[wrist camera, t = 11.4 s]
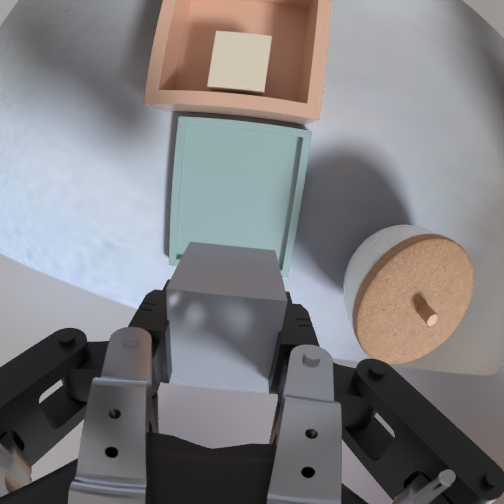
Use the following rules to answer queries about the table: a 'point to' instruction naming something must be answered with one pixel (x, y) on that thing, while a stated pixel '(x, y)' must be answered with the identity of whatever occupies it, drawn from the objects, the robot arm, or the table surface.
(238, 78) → the cream matte cube
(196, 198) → the parts tray
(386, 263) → the lidded jar
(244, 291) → the slate gray cube
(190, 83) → the salmon storage bin
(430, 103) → the table surface
